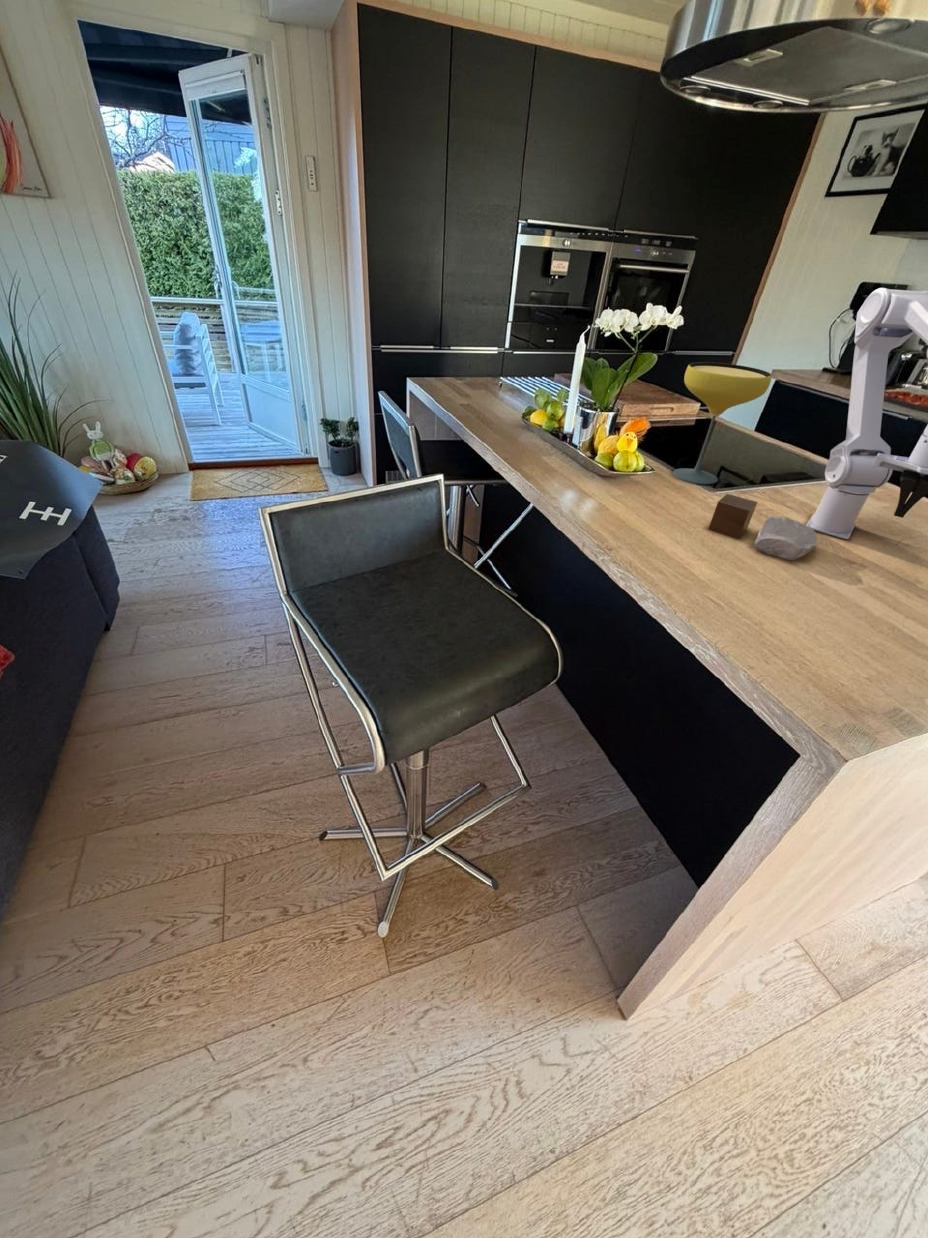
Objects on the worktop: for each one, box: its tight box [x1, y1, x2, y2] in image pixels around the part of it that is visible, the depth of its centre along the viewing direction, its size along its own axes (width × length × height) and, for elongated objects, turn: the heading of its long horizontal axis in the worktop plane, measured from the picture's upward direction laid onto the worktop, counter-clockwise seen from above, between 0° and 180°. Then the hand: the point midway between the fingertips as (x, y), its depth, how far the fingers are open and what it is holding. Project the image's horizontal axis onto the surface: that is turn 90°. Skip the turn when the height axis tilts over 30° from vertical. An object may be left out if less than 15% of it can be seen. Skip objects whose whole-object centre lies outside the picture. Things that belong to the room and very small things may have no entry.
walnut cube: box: [708, 493, 758, 539], centre depth 105 cm, size 6×6×6 cm
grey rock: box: [753, 515, 818, 561], centre depth 101 cm, size 12×5×10 cm
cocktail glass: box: [672, 361, 773, 486], centre depth 125 cm, size 18×18×25 cm
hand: (898, 515), depth 93 cm, fingers closed
